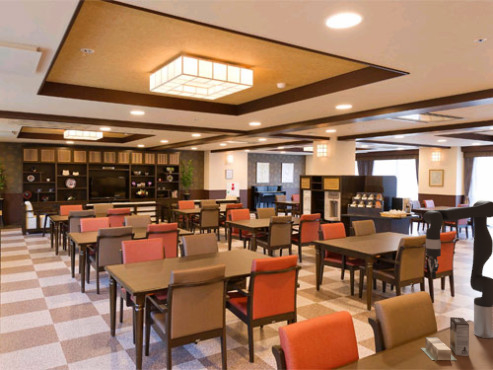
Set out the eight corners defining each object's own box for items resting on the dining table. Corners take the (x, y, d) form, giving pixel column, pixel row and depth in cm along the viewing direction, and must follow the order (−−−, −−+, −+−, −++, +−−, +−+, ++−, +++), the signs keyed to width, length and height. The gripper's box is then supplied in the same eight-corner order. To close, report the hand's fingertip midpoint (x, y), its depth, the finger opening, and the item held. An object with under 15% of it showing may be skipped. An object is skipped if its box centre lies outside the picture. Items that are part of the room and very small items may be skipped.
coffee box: (449, 347, 197) (449, 316, 196) (463, 348, 195) (463, 317, 195) (455, 355, 188) (455, 323, 187) (469, 356, 186) (469, 324, 186)
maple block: (425, 337, 197) (438, 349, 183) (437, 337, 196) (451, 349, 182) (425, 346, 197) (438, 359, 183) (437, 346, 197) (451, 359, 183)
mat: (420, 348, 196) (420, 347, 196) (444, 348, 195) (444, 347, 195) (432, 360, 183) (432, 359, 183) (457, 360, 182) (457, 359, 182)
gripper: (444, 249, 201) (444, 281, 201) (437, 245, 214) (437, 275, 214) (429, 249, 202) (429, 281, 203) (422, 244, 215) (423, 275, 215)
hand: (433, 278), depth 208 cm, fingers closed
